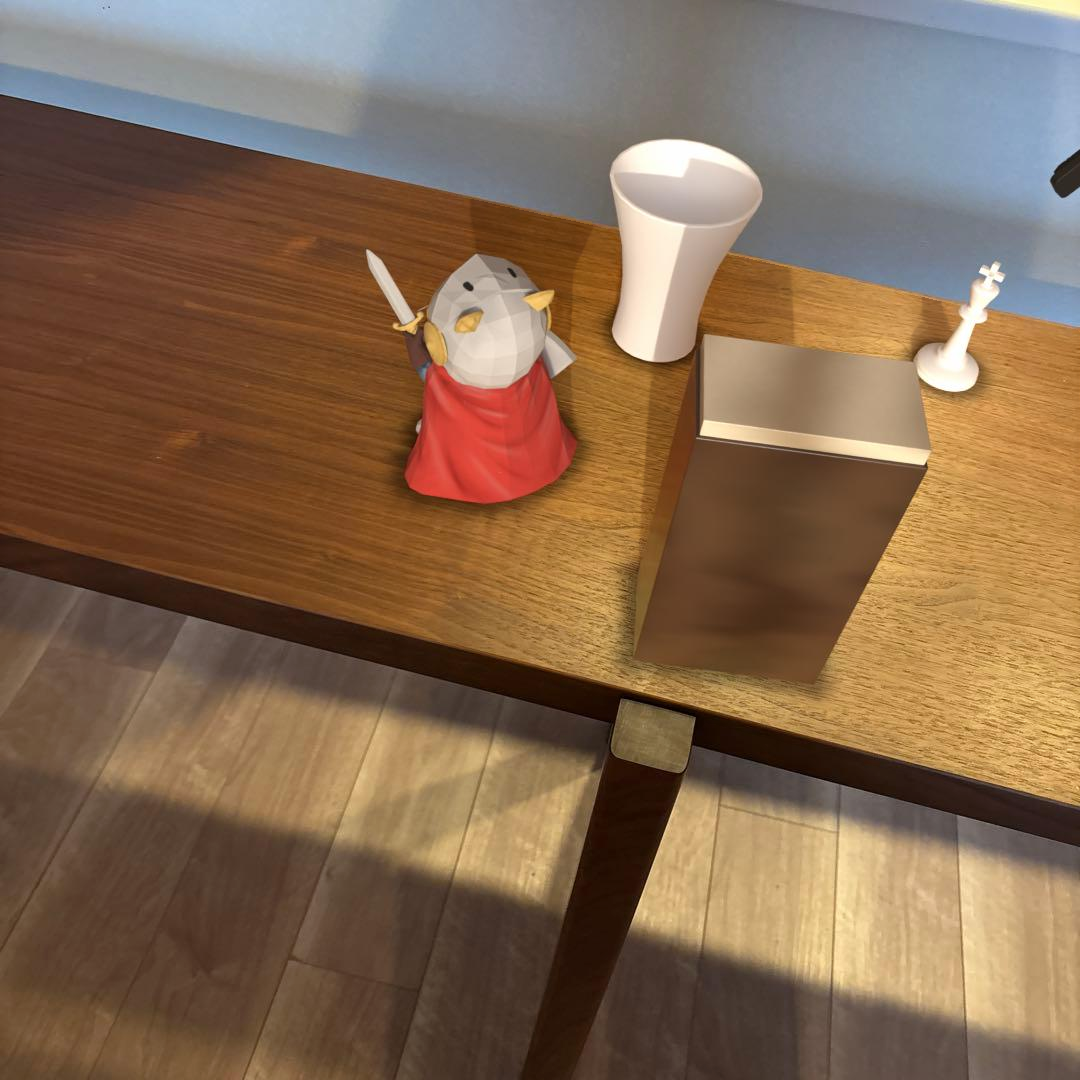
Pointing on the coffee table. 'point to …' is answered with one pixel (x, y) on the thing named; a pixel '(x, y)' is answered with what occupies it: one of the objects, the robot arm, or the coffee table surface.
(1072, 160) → the robot arm
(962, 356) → the chess piece
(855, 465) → the rectangular box
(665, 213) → the cup
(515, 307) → the figurine
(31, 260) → the coffee table surface
